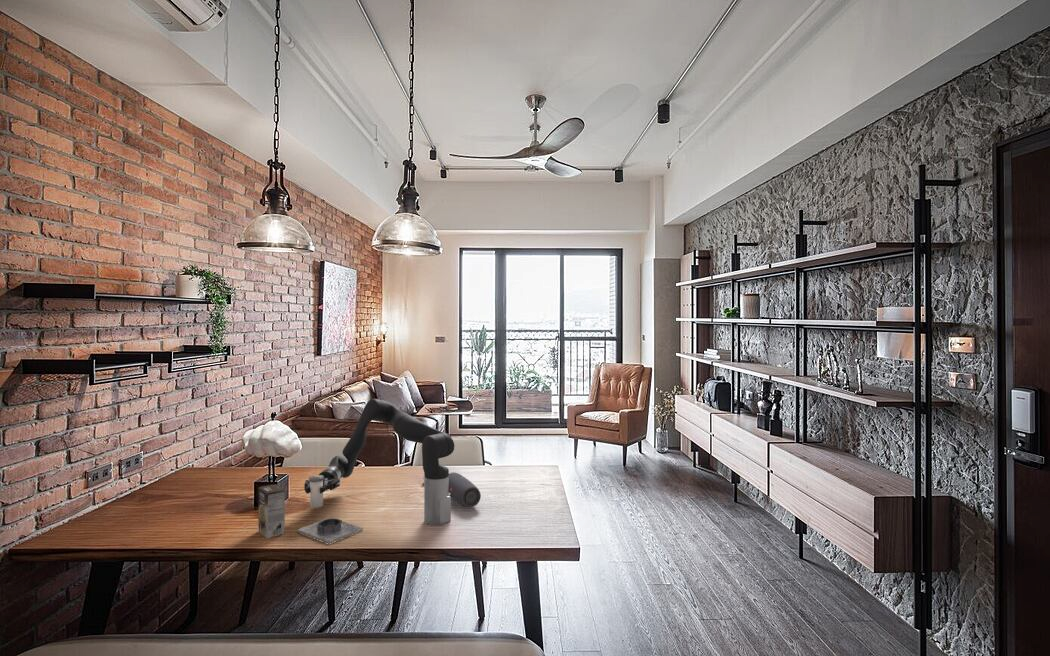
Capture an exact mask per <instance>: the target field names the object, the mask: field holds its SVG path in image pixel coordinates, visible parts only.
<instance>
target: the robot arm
mask: <svg viewBox="0 0 1050 656" xmlns="http://www.w3.org/2000/svg"><path fill="white" fill-rule="evenodd" d="M360 414H361V415H360V417H359V419H358V421H357V423H356V426H355V429H354V430H353V433H352V435H351V436H350V438H349V440H348V441H347V443H346V444H345V446H343V449H342V455H343V456H341V455H336V456H334V457H333V458H332V459H331V460H330V461H329V465H328V467H326V468H325V469H324V470H322V471H321V472H320V473H319V474H318V475H323V476H324V480H323V486H321V487H320V493H323V494H324V493H325V492H327V491H333V490H335V489H337V488H339V487H340V486H341V479H342V478H343V479H346V478H348V477H350V476H351V475H352V473H353V471H354V468H355V465H356V461H357V460H358V457H359V455H360V454H361V452H362V450H363V448H364V447H365V445H366V442H367V429H368V426H369V425H370V423H371V422H372V421H374V422H381V423H384V424H388V425H390V426H392V428H393V431H394V433H395V434H396V435H398V436H399V437H401V438H403V439H404V440H406V441H408V442H413V443H420V444H421V458H422V459H421V460H422V470H423V474H424V476H423V477H424V479H423V483H424V484H423V485H424V486H423V487H424V488H423V491H424V494H423V497H424V500H423V501H424V503H423V507H424V509H423V511H424V514H423V515H424V516H423V519H424V521H423V522H424V523H425V524H426V525H428V526H439V527H440V526H442V525H444V524H447V523H449V522H451V518H452V517H451V516H452V515H451V514H452V513H451V511H452V510H451V509H452V508H451V506H452V500H451V499H452V497H451V496H452V495H451V496H450V493H449V474H450V470H449V468H448V467H446V466H444V465H440V462H439V459H443V458H446V457H448V456H450V455H452V453H454V451H455V442H454V440H453V438H452V437H451V435H449V434H448V433H447V432H444V431H441V430H439V429H437V428H434V427H433V426H430V425H428V424H426V423H424V422H423V421H420V420H419V419H417V418H416V417H414V416H412V415H410V414H408V413H406V412H405V411H402V410H400V409H398V408H397V407H396V406H395V405H394V404H393V403H392V402H390V401H387V400H383V399H378V398H371V399H370V400H368V401H367V403H366V404H365V405H364V408H363V410H362V412H361V413H360ZM303 485H304V486H303V487H304V492H305V493H306V494H307V495H308V494H310V481H309V479H306V480H305V481H304V484H303Z"/></svg>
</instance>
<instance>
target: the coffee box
mask: <svg viewBox="0 0 1050 656" xmlns="http://www.w3.org/2000/svg"><path fill="white" fill-rule="evenodd" d="M257 489H258V491H257V492H258V495H257V496H258V498H257V499H258V501H257V502H258V506H257V507H258V508H257V509H258V515H257V516H258V517H257V519H258V532H259V533H260V534H261V535H262V534H263V537H265V538H266V539H270V538H269V537H271V538H273V537H272V536H275V537H277V536H276V535H278V536H280V535H279V534H282V535H284V534H286V533H285V525H286V524H285V523H286V521H285V520H286V519H285V517H286V516H285V515H286V506H285V505H286V501H285V500H286V497H285V496H286V490H285V489H284V488H283V487H281V486H279V485H278V484H277V483H275V484H270V485H269V484H268V485H262V486H259V487H257ZM283 533H284V534H283Z"/></svg>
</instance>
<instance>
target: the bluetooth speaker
mask: <svg viewBox="0 0 1050 656" xmlns="http://www.w3.org/2000/svg"><path fill="white" fill-rule="evenodd" d="M449 495H451V496H452V497H453V498H454V500H455V501H456V500H457V501H456V502H457V503H458V504H460V505H461V506H463V505H464V507H466V508H473V507H476V506H477V505H478V504H479V502H480V501H481V498H482V497H481V496H482V495H481V491H480V489H479V488H478V487H477V486H476V485H475V484H474V483H473V482H472V481H470V480H469V479H468V478H467V477H465V476H463V475H462V474H460V473H458V472H449Z"/></svg>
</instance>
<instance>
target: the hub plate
mask: <svg viewBox="0 0 1050 656" xmlns="http://www.w3.org/2000/svg"><path fill="white" fill-rule="evenodd" d="M359 531H361V532H363V527H362V526H359V525H355V524H352V523H349V522H346V521H344V520H342V519H339V518H334V517H332V516H331V517H328V518H325V519H322V520H319V521H317V522H315V523H312V524H308V525H305V526H303V527H300V528H299V529H297V531H296V532H299V533H302V534H304V535H307V536H310V537H312V538H315V539H318V540H321V541H323V542H326V543H328V544H330V543H332V542H334V541H337V540H340V539H342V538H344V539H346V538H345V537H347V538H349V537H351V536H350V535H352V534H354V535H356V534H358V533H357V532H359ZM299 533H298V534H299ZM355 533H356V534H355ZM359 533H360V532H359ZM302 534H301V535H302ZM304 535H303V536H304ZM307 536H306V537H307ZM348 536H349V537H348ZM352 536H353V535H352ZM310 537H309V538H310ZM312 538H311V539H312ZM315 539H314V540H315ZM318 540H317V541H318ZM342 540H343V539H342ZM340 541H341V540H340ZM323 542H322V543H323ZM337 542H338V541H337ZM326 543H325V544H326ZM328 544H327V545H328ZM330 545H331V544H330Z"/></svg>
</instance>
